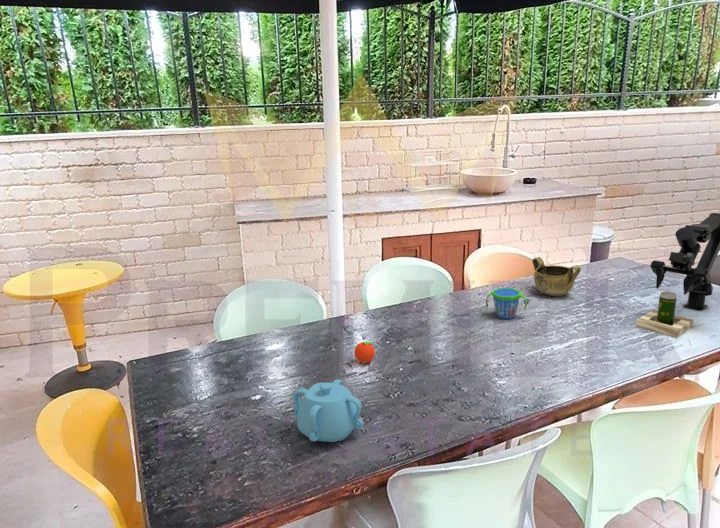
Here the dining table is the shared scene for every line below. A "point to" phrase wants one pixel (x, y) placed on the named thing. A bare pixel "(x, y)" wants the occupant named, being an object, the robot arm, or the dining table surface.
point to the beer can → (666, 308)
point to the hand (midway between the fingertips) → (670, 290)
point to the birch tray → (675, 330)
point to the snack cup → (506, 302)
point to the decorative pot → (327, 412)
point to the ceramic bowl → (554, 277)
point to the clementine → (364, 352)
